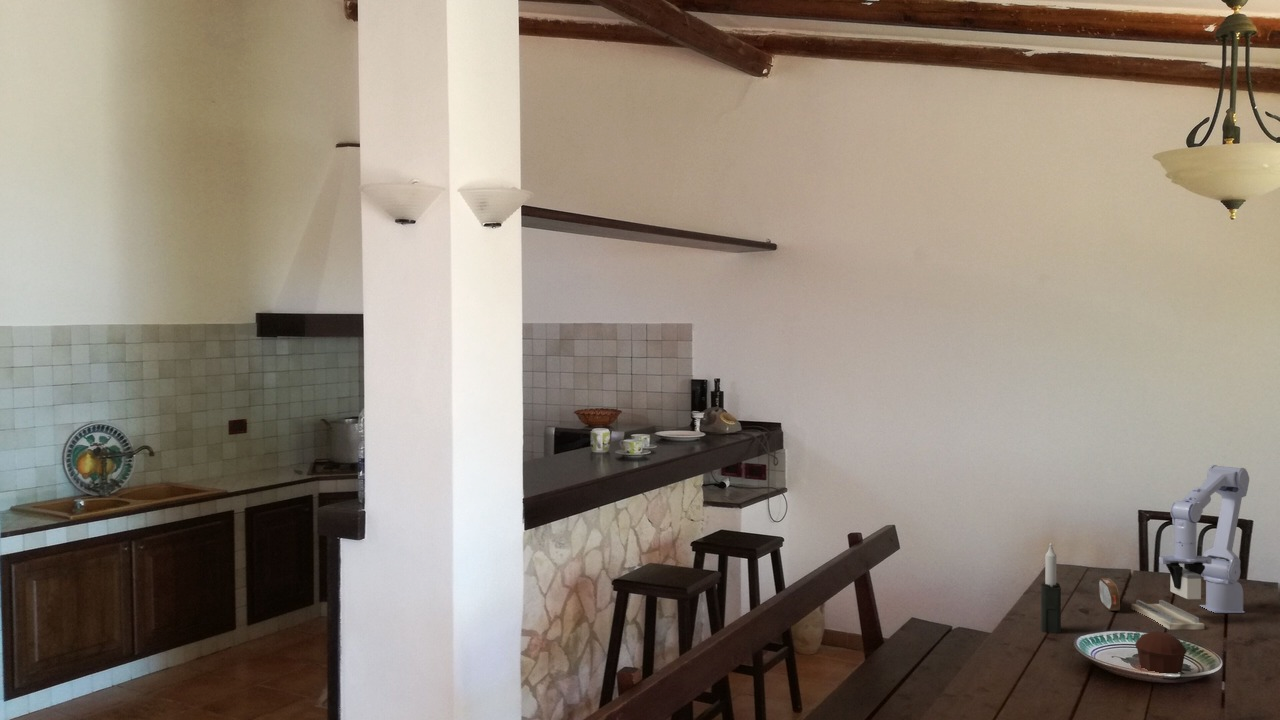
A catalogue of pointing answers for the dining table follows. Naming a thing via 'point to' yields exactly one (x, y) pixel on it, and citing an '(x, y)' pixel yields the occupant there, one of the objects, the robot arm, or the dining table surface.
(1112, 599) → the tin
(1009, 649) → the dining table surface
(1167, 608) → the rail board
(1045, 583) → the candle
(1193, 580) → the block
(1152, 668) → the muffin
